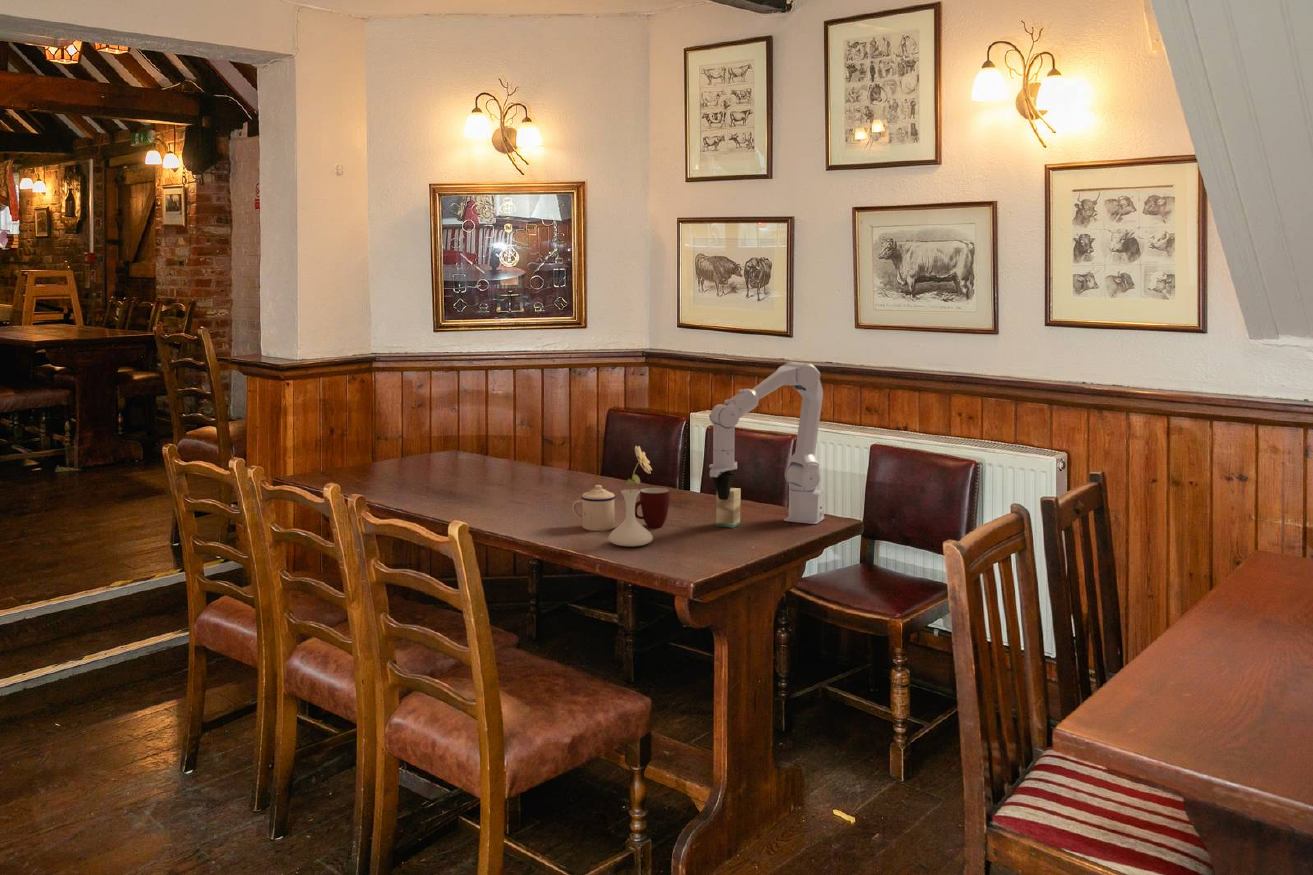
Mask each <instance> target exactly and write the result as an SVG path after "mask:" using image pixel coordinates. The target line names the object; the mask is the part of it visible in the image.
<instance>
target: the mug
mask: <svg viewBox="0 0 1313 875" xmlns="http://www.w3.org/2000/svg"><path fill="white" fill-rule="evenodd" d="M639 491H640V493H639V501H636V503H635V518H636V519H638V520H644V523H645V524H646V526H647V527H648V528H650V529H660V528H662V527H663V526H664V524H665V522H666V520H667V518H668V511H669V508H670V507H669V506H670V500H671V493H670V492H671V491H670V489H669V488H664V487H645V488H641V489H640V490H639ZM639 506H640V508H641V514H642V516H641V515H638V508H639Z"/></svg>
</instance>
